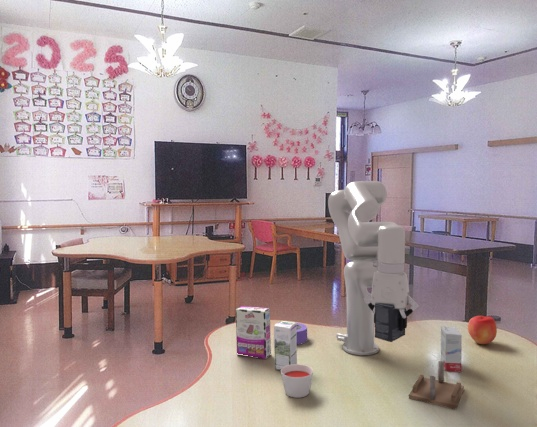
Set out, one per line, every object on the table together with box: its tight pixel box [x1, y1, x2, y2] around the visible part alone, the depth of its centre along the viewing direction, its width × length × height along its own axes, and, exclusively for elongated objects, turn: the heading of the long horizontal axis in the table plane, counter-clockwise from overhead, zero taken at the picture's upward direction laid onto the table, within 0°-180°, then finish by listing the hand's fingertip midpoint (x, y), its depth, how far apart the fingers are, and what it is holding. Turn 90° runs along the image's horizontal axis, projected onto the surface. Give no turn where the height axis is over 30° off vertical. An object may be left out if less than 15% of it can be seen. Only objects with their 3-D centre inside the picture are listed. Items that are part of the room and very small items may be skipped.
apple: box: [467, 315, 498, 345], centre depth 162 cm, size 10×10×10 cm
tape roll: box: [295, 322, 308, 345], centre depth 169 cm, size 12×12×5 cm
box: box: [374, 303, 406, 343], centre depth 130 cm, size 8×6×11 cm
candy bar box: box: [235, 305, 272, 360], centre depth 154 cm, size 11×5×16 cm, turn 68°
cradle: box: [408, 360, 465, 410], centre depth 124 cm, size 12×13×7 cm
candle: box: [280, 363, 314, 399], centre depth 126 cm, size 9×9×6 cm
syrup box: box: [273, 320, 298, 371], centre depth 142 cm, size 6×6×14 cm
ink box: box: [440, 325, 463, 373], centre depth 142 cm, size 9×5×12 cm, turn 168°
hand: (390, 327), depth 131 cm, fingers closed on box, 6 cm apart
